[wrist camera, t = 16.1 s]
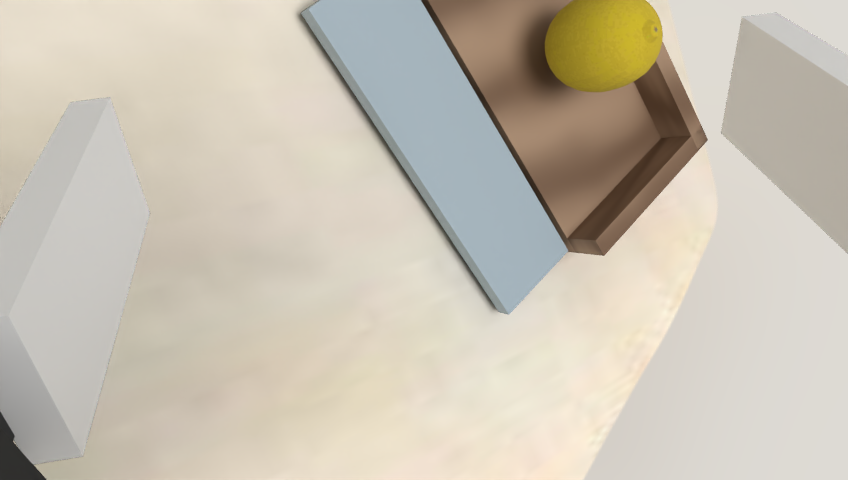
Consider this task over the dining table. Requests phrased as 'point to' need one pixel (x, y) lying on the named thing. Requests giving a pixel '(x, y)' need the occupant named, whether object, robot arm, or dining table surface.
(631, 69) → the lemon
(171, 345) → the dining table surface
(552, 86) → the brown wooden tray
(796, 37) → the robot arm
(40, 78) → the dining table surface
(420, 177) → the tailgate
